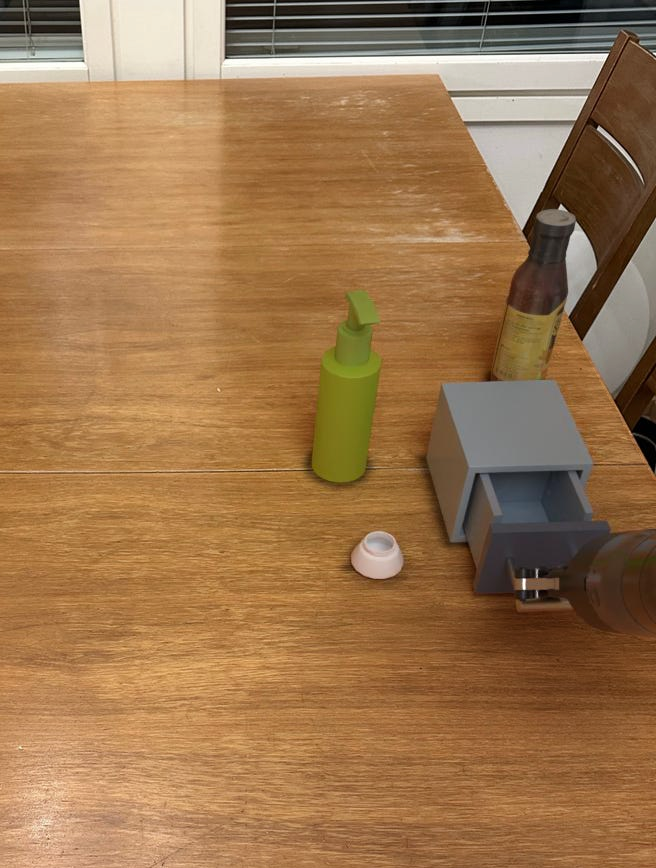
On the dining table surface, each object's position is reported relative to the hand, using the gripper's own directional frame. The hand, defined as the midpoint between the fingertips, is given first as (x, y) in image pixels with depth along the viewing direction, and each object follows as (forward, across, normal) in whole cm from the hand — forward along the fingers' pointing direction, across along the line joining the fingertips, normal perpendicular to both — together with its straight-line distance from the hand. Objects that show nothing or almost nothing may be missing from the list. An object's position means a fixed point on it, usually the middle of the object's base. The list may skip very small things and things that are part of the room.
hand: (551, 581), depth 86 cm
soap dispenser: (+20, +15, -12) cm, 28 cm away
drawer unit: (+16, 0, -9) cm, 19 cm away
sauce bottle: (+31, -7, -23) cm, 39 cm away
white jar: (+10, +14, -2) cm, 17 cm away
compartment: (+8, 0, -1) cm, 8 cm away
